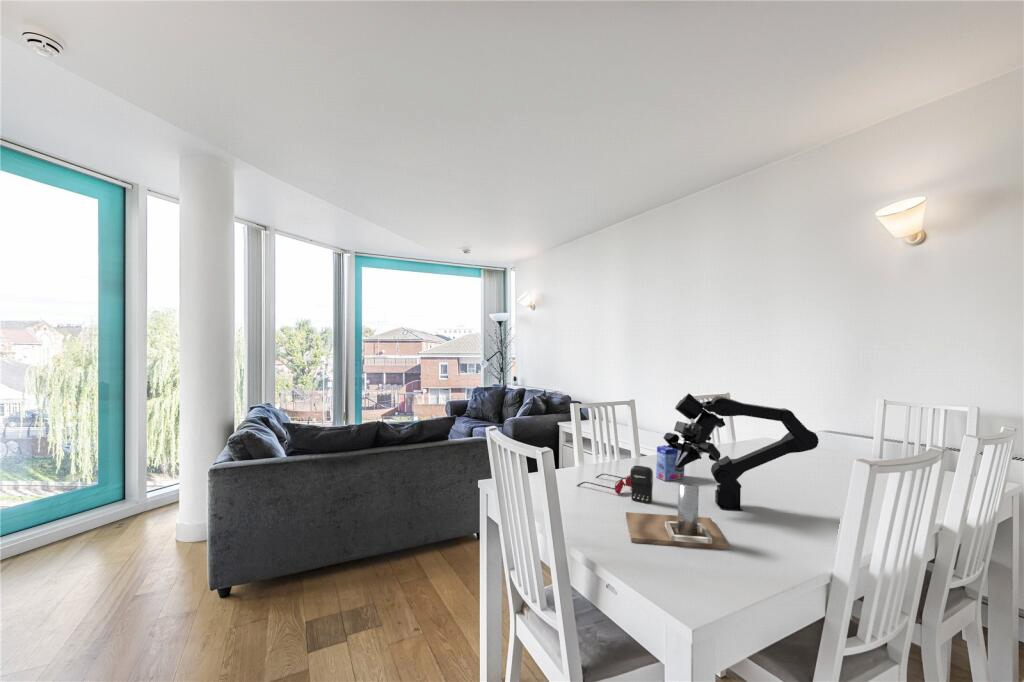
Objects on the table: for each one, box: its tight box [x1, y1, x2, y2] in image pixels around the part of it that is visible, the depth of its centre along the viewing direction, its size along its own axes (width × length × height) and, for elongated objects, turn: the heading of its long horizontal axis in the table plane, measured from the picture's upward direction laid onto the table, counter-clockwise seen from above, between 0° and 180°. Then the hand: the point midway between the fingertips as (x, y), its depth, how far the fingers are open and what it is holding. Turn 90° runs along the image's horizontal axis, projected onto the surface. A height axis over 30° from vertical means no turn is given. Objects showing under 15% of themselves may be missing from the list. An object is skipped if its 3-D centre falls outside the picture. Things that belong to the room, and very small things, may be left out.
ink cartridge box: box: [655, 444, 685, 482], centre depth 176 cm, size 10×6×14 cm, turn 115°
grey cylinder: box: [677, 481, 700, 536], centre depth 123 cm, size 5×5×13 cm
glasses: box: [576, 473, 632, 495], centre depth 166 cm, size 14×16×5 cm
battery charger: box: [629, 464, 654, 504], centre depth 151 cm, size 7×4×11 cm, turn 56°
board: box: [625, 512, 730, 551], centre depth 127 cm, size 24×18×2 cm
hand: (676, 467), depth 142 cm, fingers closed
